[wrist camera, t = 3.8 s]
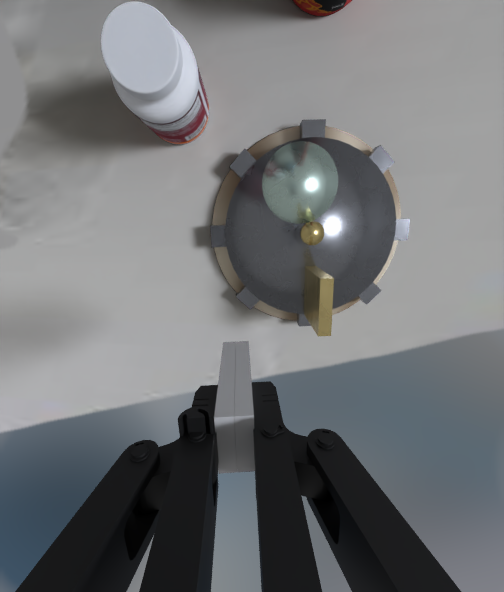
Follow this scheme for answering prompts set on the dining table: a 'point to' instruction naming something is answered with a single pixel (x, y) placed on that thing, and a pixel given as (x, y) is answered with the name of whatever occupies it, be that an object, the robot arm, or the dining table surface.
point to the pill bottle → (155, 72)
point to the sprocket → (310, 225)
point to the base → (233, 179)
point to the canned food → (321, 6)
